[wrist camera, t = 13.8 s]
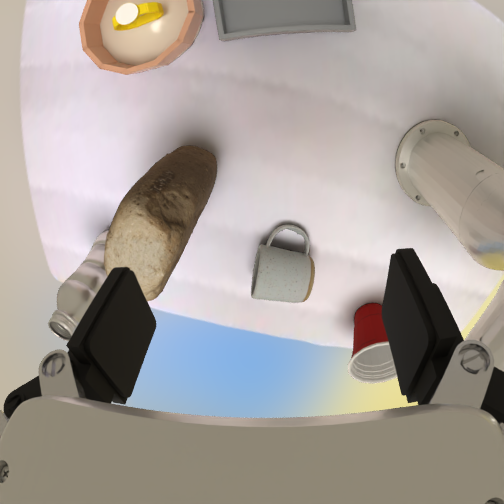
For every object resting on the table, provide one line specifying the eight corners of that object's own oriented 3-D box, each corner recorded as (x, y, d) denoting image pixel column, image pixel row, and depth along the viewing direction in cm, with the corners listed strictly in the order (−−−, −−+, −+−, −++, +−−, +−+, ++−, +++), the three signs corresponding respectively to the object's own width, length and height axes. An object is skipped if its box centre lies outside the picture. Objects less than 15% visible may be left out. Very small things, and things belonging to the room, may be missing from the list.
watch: (166, 2, 26) (151, -8, 21) (170, 20, 28) (156, 12, 23) (122, 19, 27) (101, 14, 22) (126, 37, 29) (106, 33, 24)
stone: (181, 129, 37) (106, 191, 20) (231, 150, 38) (192, 229, 22) (155, 202, 43) (90, 294, 27) (199, 221, 44) (155, 324, 28)
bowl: (195, -41, 23) (185, -53, 19) (211, 55, 31) (202, 54, 27) (94, -6, 25) (75, -10, 21) (108, 83, 33) (90, 87, 29)
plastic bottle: (105, 218, 45) (37, 303, 29) (141, 235, 47) (83, 329, 30) (99, 247, 49) (40, 331, 32) (132, 263, 50) (81, 355, 34)
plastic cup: (360, 283, 49) (375, 339, 39) (407, 301, 50) (426, 352, 40) (328, 325, 55) (335, 379, 45) (374, 337, 56) (385, 388, 46)
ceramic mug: (302, 283, 50) (304, 317, 43) (252, 275, 49) (248, 308, 43) (319, 226, 44) (326, 257, 37) (263, 216, 43) (260, 245, 37)
